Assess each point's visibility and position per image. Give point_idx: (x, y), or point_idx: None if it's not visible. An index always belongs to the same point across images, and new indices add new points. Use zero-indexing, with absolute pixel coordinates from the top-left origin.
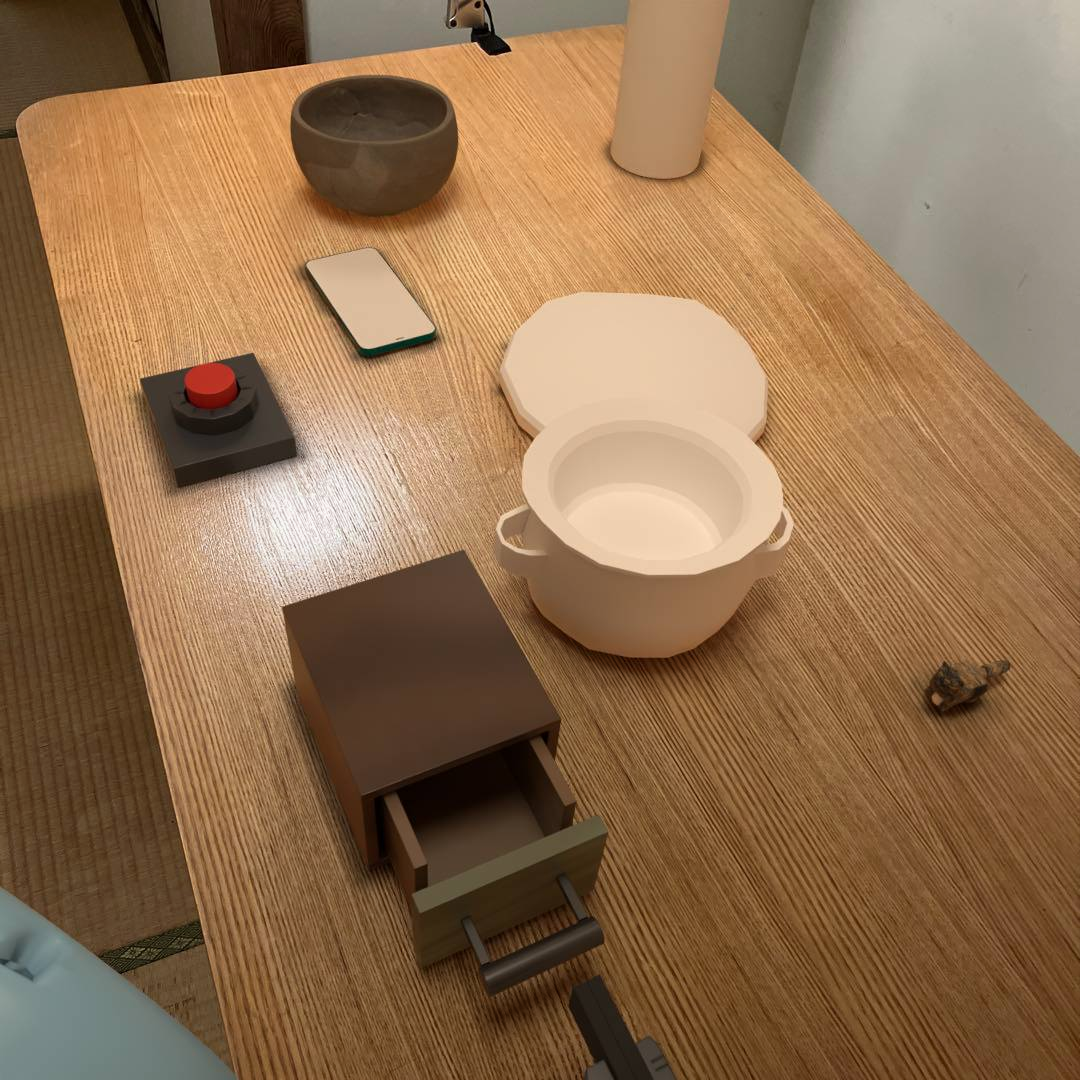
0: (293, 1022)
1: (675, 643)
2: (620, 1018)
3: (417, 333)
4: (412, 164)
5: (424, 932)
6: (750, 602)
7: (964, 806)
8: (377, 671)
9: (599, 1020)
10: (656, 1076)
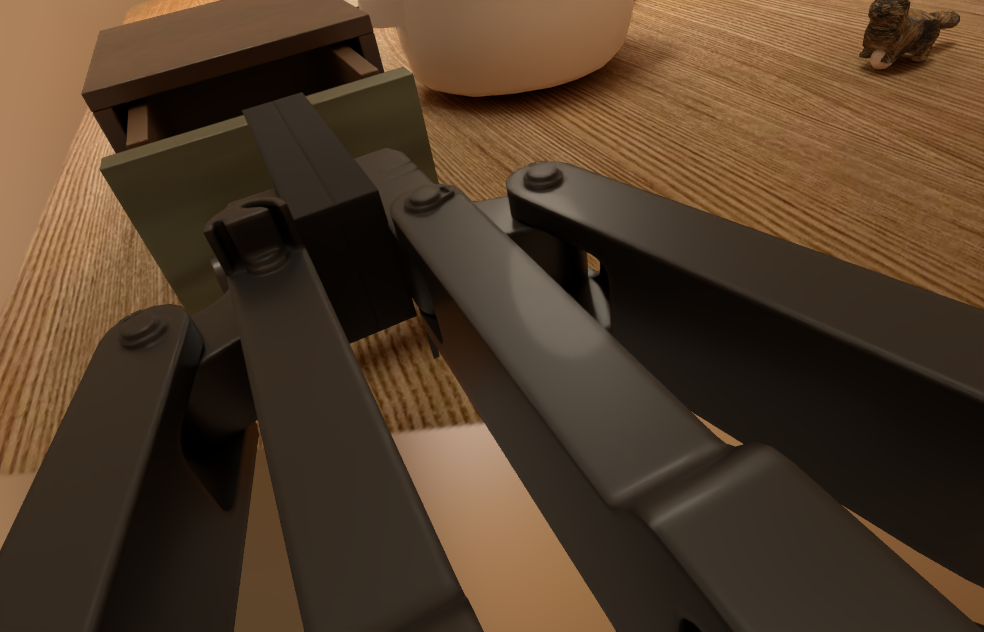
0: (25, 424)
1: (551, 42)
2: (318, 118)
3: (355, 6)
4: None
5: (148, 236)
6: (646, 58)
7: (951, 122)
8: (169, 35)
9: (272, 128)
10: (384, 187)
